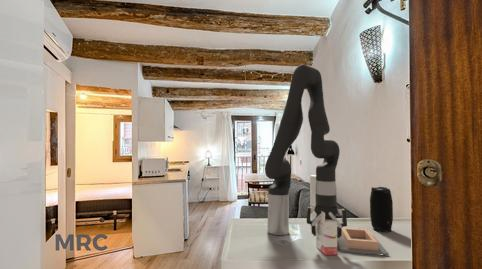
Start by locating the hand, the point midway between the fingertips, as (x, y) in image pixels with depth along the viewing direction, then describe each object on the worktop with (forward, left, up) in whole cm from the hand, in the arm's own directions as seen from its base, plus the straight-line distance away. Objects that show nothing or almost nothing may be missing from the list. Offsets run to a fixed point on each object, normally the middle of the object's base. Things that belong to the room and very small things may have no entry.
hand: (326, 236), depth 93 cm
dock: (+13, +9, -5) cm, 17 cm away
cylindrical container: (-1, +25, -5) cm, 26 cm away
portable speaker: (+28, +31, -5) cm, 42 cm away
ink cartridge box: (0, 0, -5) cm, 5 cm away
